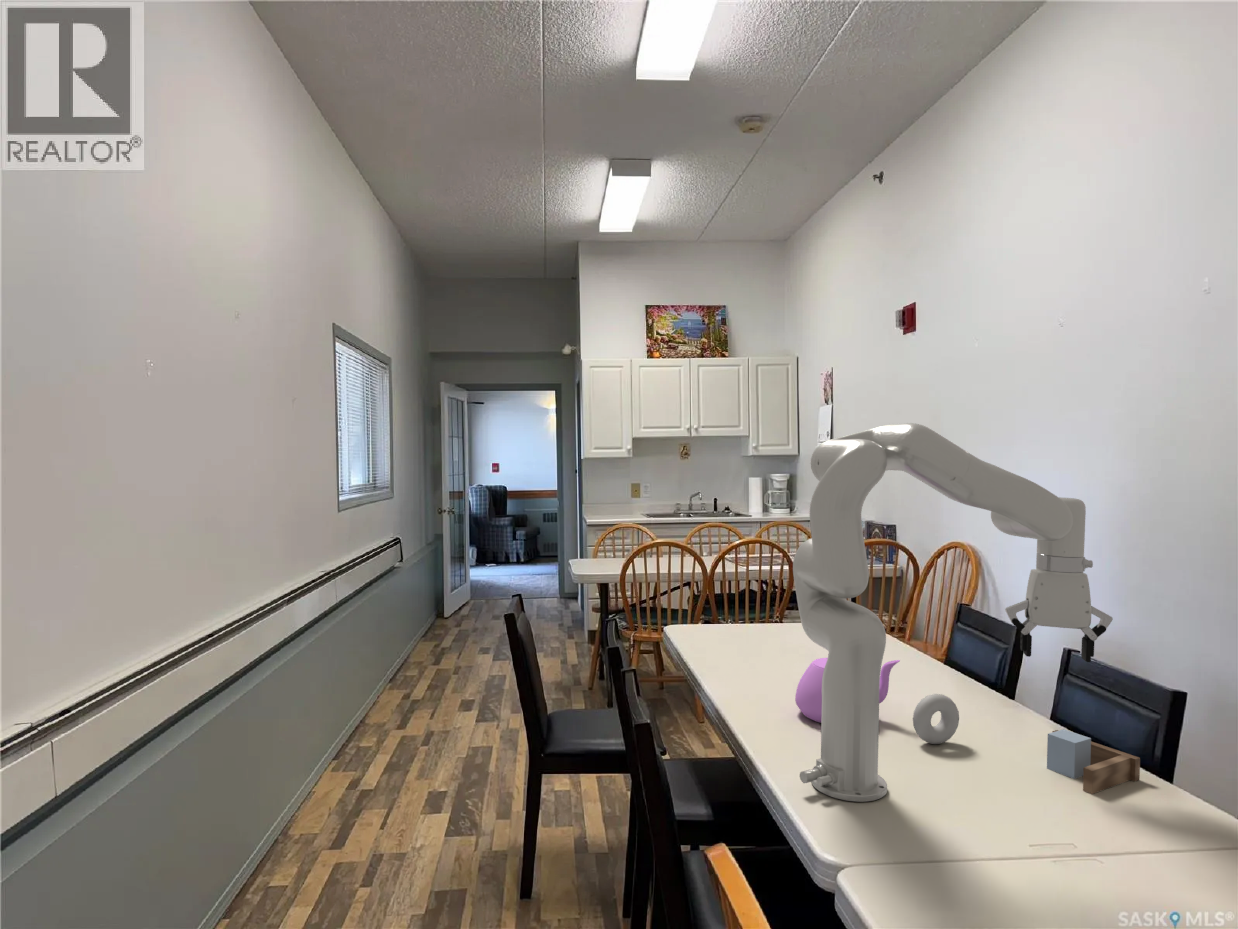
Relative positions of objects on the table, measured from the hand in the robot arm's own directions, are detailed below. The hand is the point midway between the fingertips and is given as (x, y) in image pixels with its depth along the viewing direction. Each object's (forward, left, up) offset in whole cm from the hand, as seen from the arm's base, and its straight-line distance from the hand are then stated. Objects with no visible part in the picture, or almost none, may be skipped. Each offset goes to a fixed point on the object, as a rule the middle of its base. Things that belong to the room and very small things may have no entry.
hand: (1056, 657), depth 140 cm
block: (+2, -2, -21) cm, 21 cm away
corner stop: (+2, -3, -21) cm, 21 cm away
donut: (-9, +18, -21) cm, 29 cm away
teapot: (-14, +37, -21) cm, 45 cm away
